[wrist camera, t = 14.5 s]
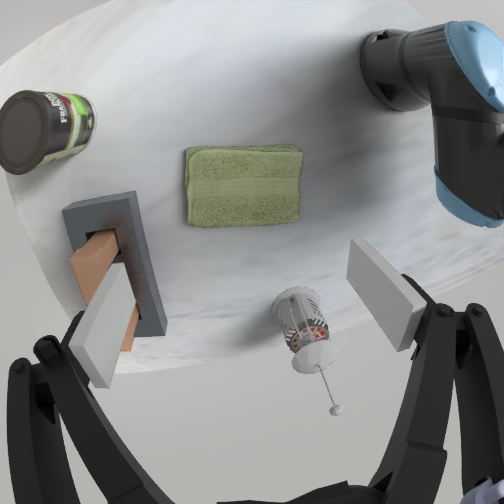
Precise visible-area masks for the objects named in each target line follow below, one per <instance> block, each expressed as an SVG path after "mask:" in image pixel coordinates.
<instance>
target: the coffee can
mask: <svg viewBox="0 0 504 504" xmlns="http://www.w3.org/2000/svg"><path fill="white" fill-rule="evenodd" d="M96 123H97V117H96V111H95V108H94V106H93V104H92V103H91V101H90V100H89V99H88V98H87V97H85V96H83V95H80V94H67V93H53V92H35V91H31V90H24V91H20V92H17V93H16V94H14V95H12V96H11V97H10V98H9V99H8V100H7V101H6V102H5V103H4V105H3V106H2V108H1V109H0V165H1V166H2V167H3V169H4V170H6V171H7V172H9V173H11V174H14V175H22V174H25V173H27V172H29V171H31V170H33V169H34V168H37V167H39V166H42V165H45V164H47V163H50V162H52V161H55V160H58V159H61V158H64V157H67V156H70V155H74V154H77V153H79V152H80V151H82V150H83V149H84V148H85V147H86V146H87V145H88V144H89V143H90V141H91V139H92V137H93V135H94V133H95V129H96Z"/></svg>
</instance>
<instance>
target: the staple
mask: <svg viewBox="0 0 504 504" xmlns="http://www.w3.org/2000/svg"><path fill="white" fill-rule="evenodd" d="M119 249H120V246H119V242H118V239H117V235H116V231H115V228H113V229H106V230H99V231H97V232H96V233H95V234H94V235H93V236H92V237H91V238H90V240H89V241H88V242H87V243H86V244H85V245H84V246H83V248H79V249H77V250H76V251H75V253H74V254H73V255H72V256H71V257H70V262H71V265H72V268H73V271H74V273H75V276H76V279H77V282H78V284H79V287H80V289H81V292H82V294H83V297H84V299H85V302H86V304H87V306H88V305H89V303H90V301H91V299H92V298H93V296H94V294H95V292H96V290H97V289H98V287H99V285H100V283H101V282H102V280H103V278H104V276H105V275H106V273H107V271H108V270H109V269H108V267H109V266H110V264H111V262H112V261H113V259H114V257H115V256H116V254H117V253H118V251H119ZM139 314H140V311H139V309H138V306H137V303H135V306H134V309H133V312H132V315H131V318H130V321H129V324H128V327H127V330H126V333H125V336H124V339H123V343H122V346H121V349H120V351H131V347H132V344H133V340H134V338H133V335H134V331H135V328H136V324H137V321H138V317H139Z"/></svg>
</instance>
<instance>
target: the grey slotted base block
mask: <svg viewBox="0 0 504 504" xmlns="http://www.w3.org/2000/svg"><path fill="white" fill-rule="evenodd" d="M62 212H63V216H64V220H65V224H66V227H67V231H68V234H69V238H70V241H71V244H72V247H73V251H74V253H75V251H76V250H77V249H79V248H83V246H84V245H85V244H86V243H87V242H88V241H89V240H90V238H91V237H92V236H93V235H94V234H95V233H96V231H99V230H106V229H113V228H115V231H116V235H117V239H118V242H119V246H120V249H119V251H118V253H117V254H116V256H115V257H114V259H113V261H112V262H111V264H110V266H111V265H112V264H115V263H124V265H125V269H126V272H127V276H128V279H129V282H130V285H131V288H132V291H133V294H134V297H135V300H136V303H137V306H138V309H139V311H140V314H139V317H138V321H137V324H136V328H135V331H134V335H133V337H153V336H165V333H166V327H167V319H166V316H165V312H164V309H163V305H162V302H161V298H160V295H159V291H158V288H157V284H156V280H155V276H154V272H153V268H152V264H151V260H150V256H149V252H148V248H147V243H146V239H145V234H144V230H143V225H142V220H141V215H140V210H139V205H138V200H137V194H136V191H131V192H125V193H120V194H114V195H109V196H103V197H98V198H93V199H88V200H83V201H78V202H74V203H72V204H70V205H69V206H68V207H66V208H65V209H63V210H62ZM110 266H109V267H108V269H109V268H110Z"/></svg>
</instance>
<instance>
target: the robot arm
mask: <svg viewBox="0 0 504 504" xmlns="http://www.w3.org/2000/svg"><path fill="white" fill-rule="evenodd" d="M360 66H361V71H362V74H363V77H364V80H365V82H366V84H367V86H368V87H369V89H370V90H371V92H372V93H373V94H374V96H375V97H376V98H377V99H378V100H379V101H381V102H382V103H383V104H385V105H386V106H388V107H390V108H392V109H395V110H400V111H415V110H419V109H421V108H424V107H426V106H428V105H430V104H431V108H432V118H433V129H434V148H435V166H434V173H435V176H436V193H437V197H438V199H439V200H440V202H441V203H442V205H443V206H444V207H445V208H446V209H447V210H448V211H449V212H450V213H451V214H453V215H454V216H456V217H458V218H459V219H461V220H463V221H465V222H468V223H470V224H473V225H476V226H480V227H483V226H484V225H485V226H486V227H488V228H496V227H499V226H501V225H502V224H503V222H504V44H503V42H502V41H501V39H500V38H499V37H498V36H497V35H496V34H495V33H494V32H493V31H492V30H491V29H489V28H488V27H487V26H485V25H483V24H482V23H479V22H476V21H461V22H458V21H450V22H447V23H445V24H441V25H436V26H432V27H428V28H424V29H421V30H417V31H414V32H408V31H402V30H396V29H386V30H382V31H379V32H377V33H374V34H372V35H371V36H369V37H368V38H367V39H366V41H365V42H364V44H363V46H362V49H361V53H360ZM346 279H347V280H348V281H349V283H350V284H351V285H352V287H353V288H354V290H355V291H356V292H357V294H358V295H359V297H360V298H361V299H362V301H363V302H364V304H365V305H366V307H367V308H368V309H369V311H370V312H371V314H372V315H373V317H374V318H375V320H376V321H377V323H378V324H379V326H380V327H381V328H382V330H383V331H384V333H385V334H386V336H387V337H388V339H389V340H390V342H391V344H392V345H393V346H394V348H395V350H396V351H397V352H399V351H402V350H405V349H409V348H410V346H411V344H412V342H413V339H414V340H415V341H416V343H417V346H416V349H415V351H414V353H413V355H412V358H411V360H413V362H412V367H411V371H410V375H409V379H408V383H407V387H406V391H405V395H404V398H403V402H402V405H401V408H400V412H399V415H398V418H397V421H396V424H395V427H394V430H393V433H392V436H391V438H390V441H389V444H388V446H387V449H386V452H385V454H384V457H383V459H382V461H381V464H380V466H379V468H378V470H377V472H376V473H375V475H374V476H373V478H372V479H371V482H370V483H369V485H368V487H367V486H361V485H348V482H347V481H344V482H340V483H337V484H333V485H330V486H326V487H322V488H318V489H315V490H313V491H311V492H309V493H307V494H305V495H302V496H300V497H298V498H296V499H293V500H290V501H288V502H285V503H279V502H264V501H253V500H245V501H234V502H233V501H232V502H217V504H433V503H434V500H435V497H436V494H437V492H438V488H439V485H440V482H441V479H442V475H443V472H444V468H445V464H446V460H447V451H446V450H444V449H443V444H444V439H445V434H446V429H447V424H448V418H449V412H450V406H451V398H452V390H453V381H454V380H455V386H456V393H457V401H458V409H459V419H460V431H461V453H462V488H463V495H464V497H463V499H462V501H461V503H460V504H504V351H503V348H502V346H501V343H500V341H499V338H498V335H497V333H496V331H495V328H494V325H493V323H492V321H491V318H490V316H489V314H488V312H487V310H486V309H485V308H484V307H483V306H482V305H480V304H476V303H471V304H468V306H467V308H466V310H465V312H455V311H454V310H453V308H451V307H450V306H448V305H446V304H442V303H438V304H436V303H435V302H434V301H433V299H432V298H431V297H430V296H429V295H428V294H427V293H426V292H425V291H424V290H422V288H421V287H420V286H419V285H418V284H417V283H416V282H415V281H414V280H413V279H412V278H410V277H409V276H407V275H405V274H401V275H400V274H399V273H398V272H397V271H396V270H395V269H394V268H393V267H392V266H391V265H390V264H389V263H388V262H387V261H386V260H385V259H384V258H383V257H382V256H381V255H380V254H379V253H378V252H377V251H376V250H375V249H374V248H373V247H372V246H371V245H370V244H369V243H368V242H367V241H366V240H365V239H364V238H362V237H361V238H351V244H350V253H349V262H348V270H347V278H346ZM135 303H136V300H135V297H134V294H133V291H132V288H131V285H130V282H129V279H128V276H127V272H126V269H125V265H124V263H115V264H112V265H111V266H110V268H109V270H108V271H107V273H106V275H105V276H104V278H103V280H102V282H101V283H100V285H99V287H98V289H97V290H96V292H95V294H94V296H93V298H92V299H91V301H90V303H89V305H88V307H87V309H86V311H80V312H79V313H78V314H77V315H76V316H75V317H74V319H73V321H72V323H71V326H69V328H68V332H66V334H65V336H64V338H63V340H62V342H61V344H60V343H59V341H58V339H57V338H56V337H55V336H53V335H47V336H44V337H42V338H41V339H39V340H38V341H37V342H36V343H35V345H34V348H33V352H34V354H35V355H36V357H37V358H38V360H39V361H40V363H38V364H34V365H31V363H30V362H29V360H28V359H27V358H19V359H17V360H15V361H14V362H13V363H12V365H11V366H10V369H9V377H8V391H7V444H8V457H9V466H10V474H11V481H12V486H13V492H14V497H15V503H16V504H80V501H79V498H78V495H77V492H76V488H75V485H74V482H73V478H72V475H71V471H70V467H69V463H68V459H67V454H66V451H65V445H64V440H63V435H62V429H61V423H60V417H59V413H60V415H61V417H62V420H63V422H64V424H65V426H66V429H67V431H68V433H69V435H70V437H71V439H72V441H73V443H74V445H75V447H76V449H77V451H78V453H79V455H80V457H81V458H82V460H83V462H84V464H85V466H86V467H87V469H88V471H89V472H90V474H91V476H92V477H93V479H94V481H95V482H96V484H97V485H98V487H99V489H100V490H101V491H102V493H103V495H104V496H105V498H106V499H107V501H108V504H175V503H174V502H172V500H170V499H169V497H167V496H166V494H165V493H164V492H163V491H162V490H161V489H160V488H159V487H158V485H157V484H156V483H155V482H154V481H153V480H152V479H151V477H150V476H149V475H148V474H147V473H146V471H145V470H144V469H143V468H142V466H141V465H140V464H139V463H138V461H137V460H136V459H135V458H134V456H133V455H132V454H131V452H130V451H129V449H128V448H127V447H126V445H125V444H124V443H123V441H122V440H121V438H120V437H119V436H118V434H117V432H116V431H115V430H114V428H113V426H112V425H111V423H110V422H109V420H108V419H107V417H106V416H105V414H104V413H103V411H102V409H101V407H100V406H99V404H98V403H97V401H96V399H95V397H94V395H93V394H92V392H91V390H90V389H89V388H88V384H89V381H91V382H92V384H93V385H94V386H95V388H108V389H109V388H110V384H111V381H112V377H113V373H114V370H115V366H116V363H117V359H118V356H119V352H120V349H121V346H122V343H123V339H124V336H125V333H126V330H127V327H128V324H129V321H130V318H131V315H132V312H133V309H134V306H135Z"/></svg>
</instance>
